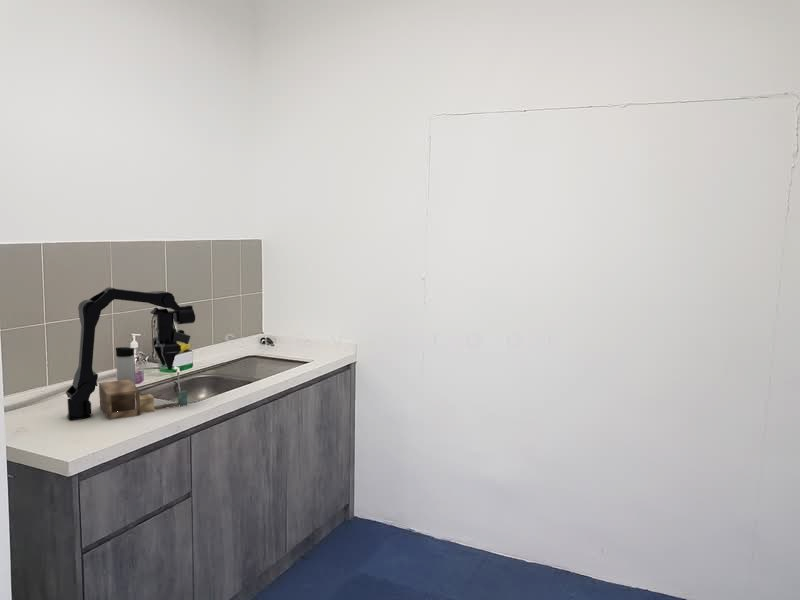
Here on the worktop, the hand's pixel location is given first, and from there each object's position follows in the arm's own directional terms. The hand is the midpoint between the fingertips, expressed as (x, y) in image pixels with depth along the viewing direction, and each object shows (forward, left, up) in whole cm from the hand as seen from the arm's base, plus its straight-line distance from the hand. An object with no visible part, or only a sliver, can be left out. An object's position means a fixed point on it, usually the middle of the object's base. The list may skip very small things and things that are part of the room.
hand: (166, 367), depth 232 cm
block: (-4, -7, -13) cm, 15 cm away
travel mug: (-12, +12, -13) cm, 22 cm away
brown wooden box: (-17, -3, -13) cm, 22 cm away
